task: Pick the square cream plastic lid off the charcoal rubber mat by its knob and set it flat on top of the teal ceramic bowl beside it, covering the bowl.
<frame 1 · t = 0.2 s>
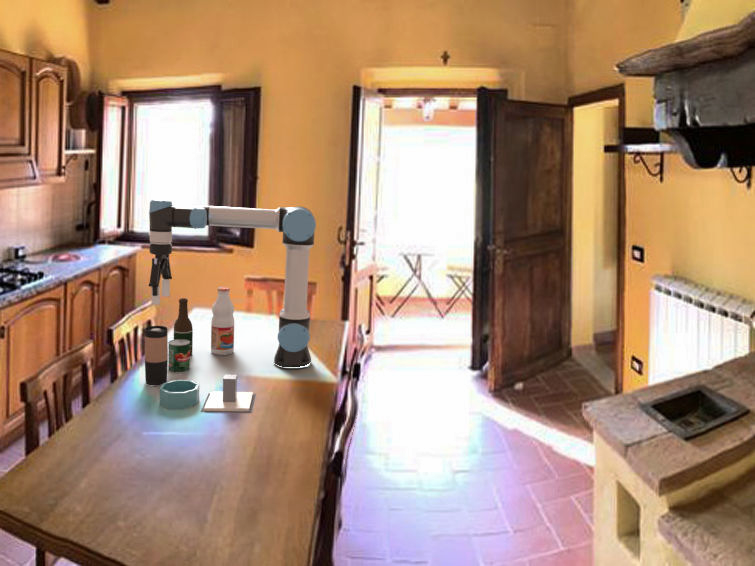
hand: (160, 300, 207), 28 cm above the table, tool pointing down, fingers open, 13 cm apart
mat: (229, 404, 187), on the table
bowl: (179, 403, 185), on the table
lid: (229, 402, 187), point 1 cm above the table, touching mat
travel mug: (156, 382, 202), on the table
beer bottle: (183, 356, 232), on the table
fruit juice: (222, 352, 240), on the table
canned tomato: (179, 370, 216), on the table
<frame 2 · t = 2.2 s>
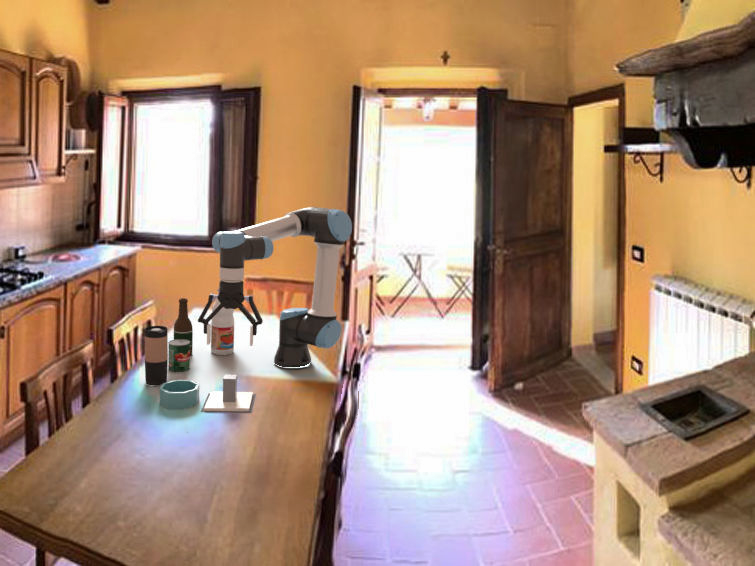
hand: (230, 344, 184), 21 cm above the table, tool pointing down, fingers open, 13 cm apart
nothing on the table moved.
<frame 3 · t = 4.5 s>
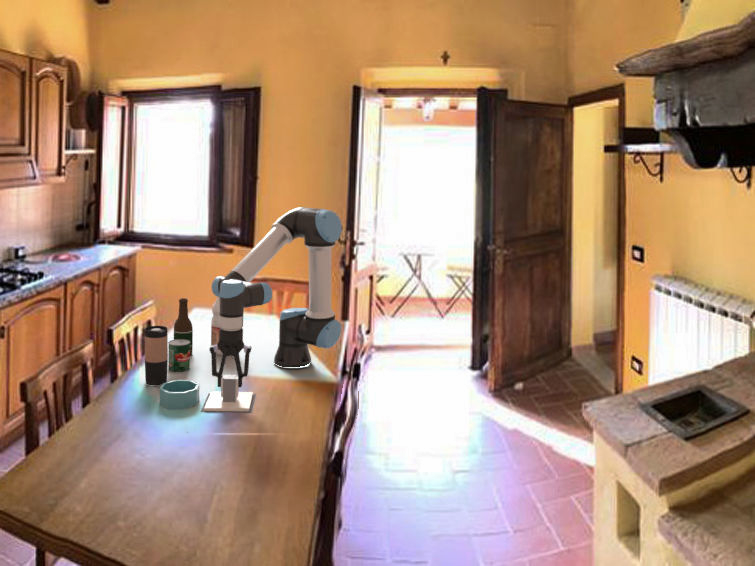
hand: (229, 395, 187), 3 cm above the table, tool pointing down, fingers closed on lid, 4 cm apart
lid: (229, 402, 187), point 1 cm above the table, touching gripper, mat
everything else where it was.
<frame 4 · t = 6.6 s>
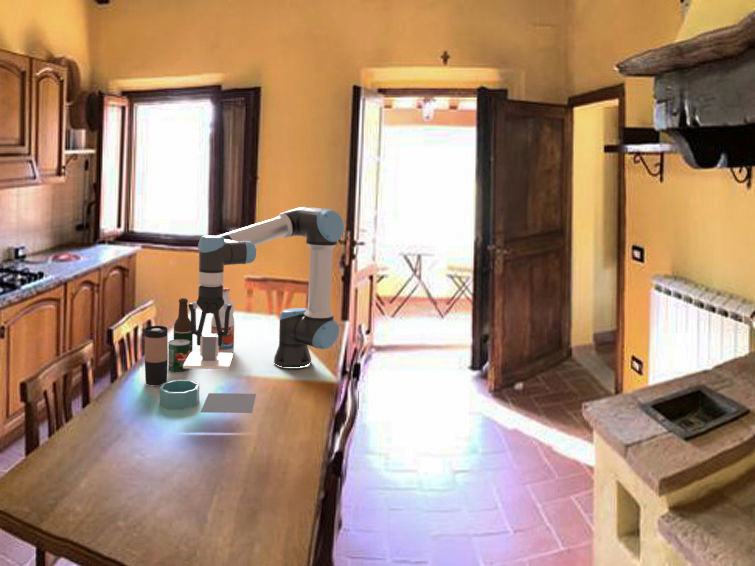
hand: (209, 354, 183), 17 cm above the table, tool pointing down, fingers closed on lid, 4 cm apart
lid: (209, 361, 183), point 15 cm above the table, touching gripper
everything else where it was.
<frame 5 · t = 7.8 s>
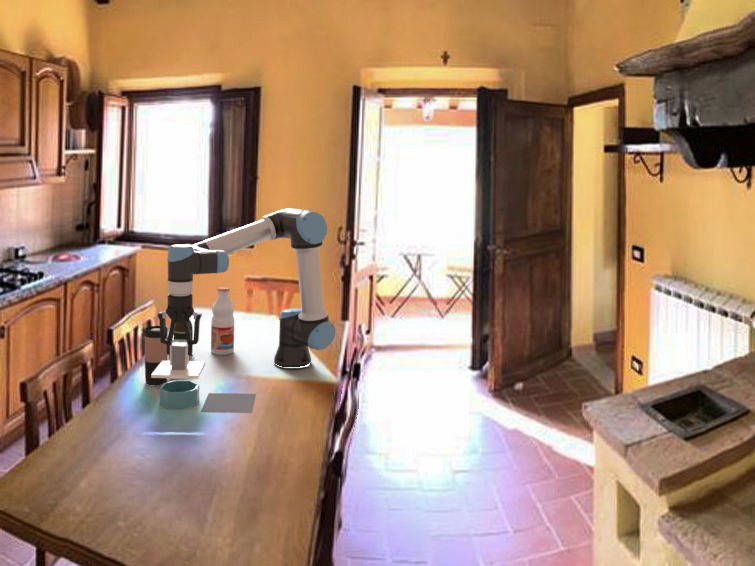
hand: (179, 363, 182), 14 cm above the table, tool pointing down, fingers closed on lid, 4 cm apart
lid: (179, 370, 183), point 11 cm above the table, touching gripper
everything else where it was.
when the fingers open (10 cm above the table, at t = 8.6 s): lid drops 1 cm, resting on bowl.
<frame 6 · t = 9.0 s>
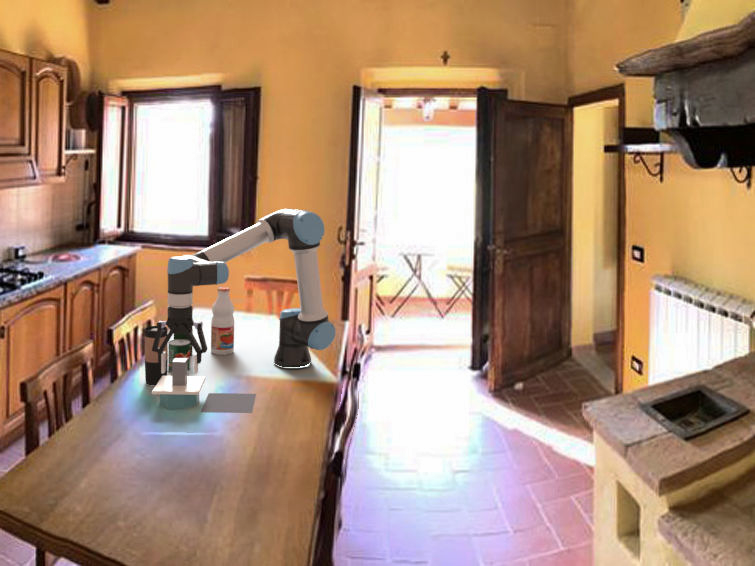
hand: (179, 372, 183), 11 cm above the table, tool pointing down, fingers open, 9 cm apart
lid: (179, 386, 184), point 6 cm above the table, touching bowl
everything else where it was.
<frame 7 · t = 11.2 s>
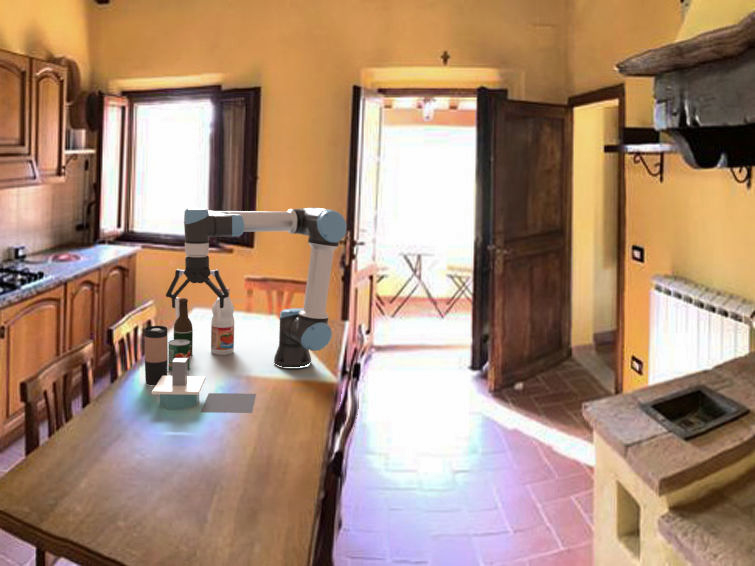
hand: (198, 317, 190), 27 cm above the table, tool pointing down, fingers open, 13 cm apart
nothing on the table moved.
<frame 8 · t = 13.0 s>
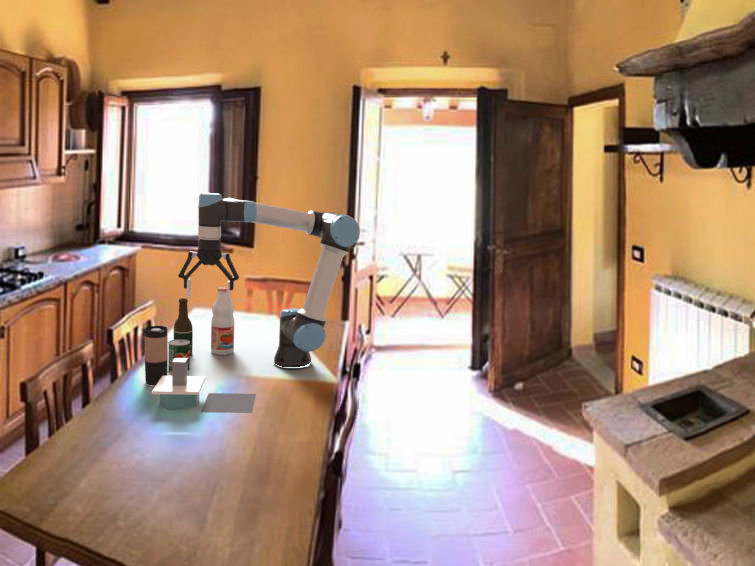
hand: (208, 298, 198), 32 cm above the table, tool pointing down, fingers open, 13 cm apart
nothing on the table moved.
at the end: lid 0.0 cm off-centre on the bowl, point 6.0 cm above the bowl's base; lid tilted 0°; the gripper is holding nothing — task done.
